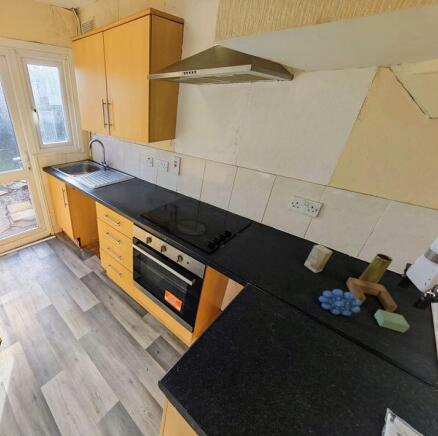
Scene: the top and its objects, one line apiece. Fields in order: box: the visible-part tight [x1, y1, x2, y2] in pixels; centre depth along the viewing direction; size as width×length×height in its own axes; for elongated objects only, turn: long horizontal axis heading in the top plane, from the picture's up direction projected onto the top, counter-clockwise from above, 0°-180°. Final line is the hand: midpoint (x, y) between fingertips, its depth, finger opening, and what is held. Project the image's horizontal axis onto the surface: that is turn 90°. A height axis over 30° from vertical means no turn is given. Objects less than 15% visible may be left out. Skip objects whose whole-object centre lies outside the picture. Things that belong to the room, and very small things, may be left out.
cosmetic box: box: [303, 243, 333, 274], centre depth 107 cm, size 6×4×12 cm
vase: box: [358, 253, 393, 284], centre depth 99 cm, size 6×6×14 cm
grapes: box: [318, 288, 363, 317], centre depth 85 cm, size 12×7×12 cm, turn 46°
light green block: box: [374, 308, 411, 334], centre depth 83 cm, size 7×5×4 cm
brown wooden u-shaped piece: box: [345, 276, 398, 313], centre depth 94 cm, size 12×12×4 cm
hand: (408, 297), depth 77 cm, fingers open, 9 cm apart
